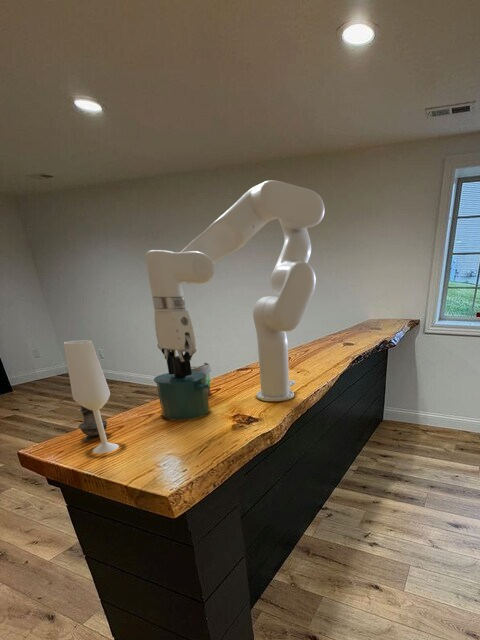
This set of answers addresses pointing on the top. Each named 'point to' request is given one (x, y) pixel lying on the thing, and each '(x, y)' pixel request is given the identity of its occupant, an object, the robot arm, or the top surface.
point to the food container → (205, 370)
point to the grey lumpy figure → (90, 424)
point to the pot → (184, 400)
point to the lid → (178, 375)
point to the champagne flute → (88, 384)
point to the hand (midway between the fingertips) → (180, 373)
